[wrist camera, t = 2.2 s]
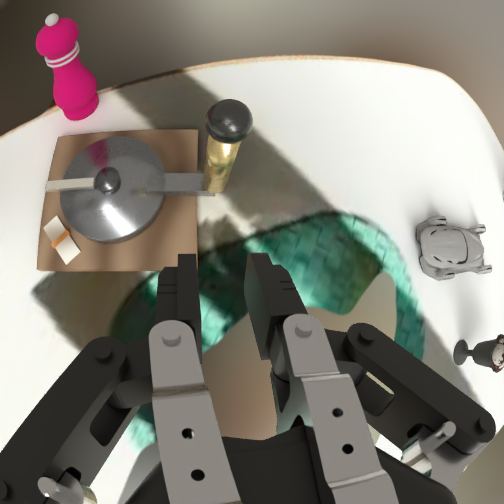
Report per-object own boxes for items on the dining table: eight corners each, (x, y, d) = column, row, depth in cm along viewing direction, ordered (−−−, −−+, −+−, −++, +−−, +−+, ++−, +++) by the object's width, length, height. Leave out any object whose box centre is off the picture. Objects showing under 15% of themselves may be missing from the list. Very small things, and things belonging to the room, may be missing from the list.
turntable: (48, 245, 32) (-27, 199, 16) (63, 150, 34) (19, 73, 18) (229, 242, 37) (263, 186, 21) (226, 144, 40) (252, 56, 23)
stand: (41, 271, 33) (35, 268, 31) (61, 142, 37) (57, 135, 35) (197, 270, 38) (197, 267, 36) (197, 135, 41) (198, 127, 40)
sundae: (446, 357, 43) (510, 360, 29) (461, 329, 45) (522, 325, 31) (459, 376, 43) (519, 381, 29) (473, 348, 45) (531, 347, 31)
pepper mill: (83, 85, 39) (58, -3, 20) (110, 99, 40) (89, 2, 21) (54, 114, 37) (15, 28, 18) (79, 129, 38) (41, 36, 19)
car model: (484, 276, 50) (501, 272, 45) (413, 282, 45) (433, 278, 40) (477, 227, 52) (493, 221, 47) (404, 218, 47) (423, 210, 42)
